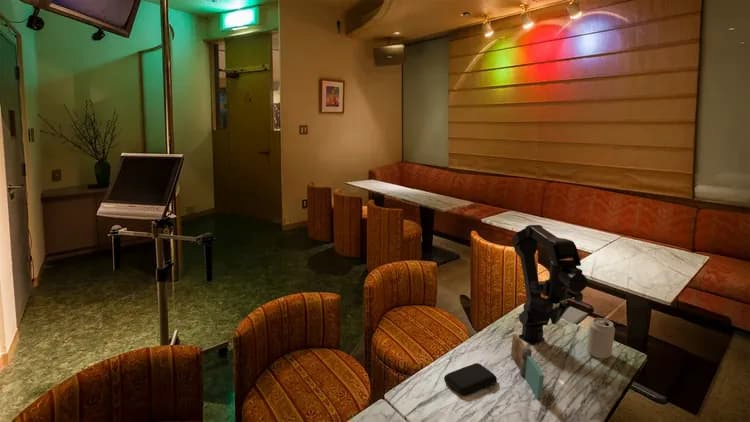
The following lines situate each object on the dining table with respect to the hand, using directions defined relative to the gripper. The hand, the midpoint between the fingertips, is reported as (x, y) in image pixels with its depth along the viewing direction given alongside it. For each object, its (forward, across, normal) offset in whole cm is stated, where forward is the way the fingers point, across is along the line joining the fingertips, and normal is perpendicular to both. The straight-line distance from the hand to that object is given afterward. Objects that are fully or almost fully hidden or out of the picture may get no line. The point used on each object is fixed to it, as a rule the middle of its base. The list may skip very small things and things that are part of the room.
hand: (553, 323), depth 143 cm
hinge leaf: (+13, +16, +7) cm, 22 cm away
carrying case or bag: (+14, +31, -3) cm, 34 cm away
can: (+13, -17, +6) cm, 22 cm away
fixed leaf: (+13, +12, -2) cm, 18 cm away
